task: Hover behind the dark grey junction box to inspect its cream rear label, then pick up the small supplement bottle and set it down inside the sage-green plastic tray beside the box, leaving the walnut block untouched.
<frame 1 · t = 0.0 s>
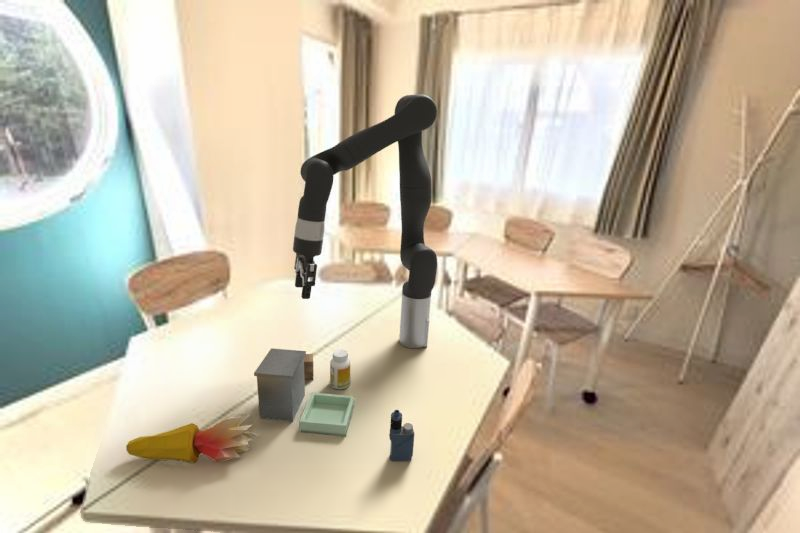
hand: (302, 292, 113), 22 cm above the table, tool pointing down, fingers open, 8 cm apart
vaping device: (400, 458, 88), on the table
supplement bottle: (340, 384, 112), on the table
tray: (328, 418, 99), on the table
walnut block: (306, 376, 114), on the table
junction box: (283, 406, 102), on the table
torch: (195, 454, 87), on the table
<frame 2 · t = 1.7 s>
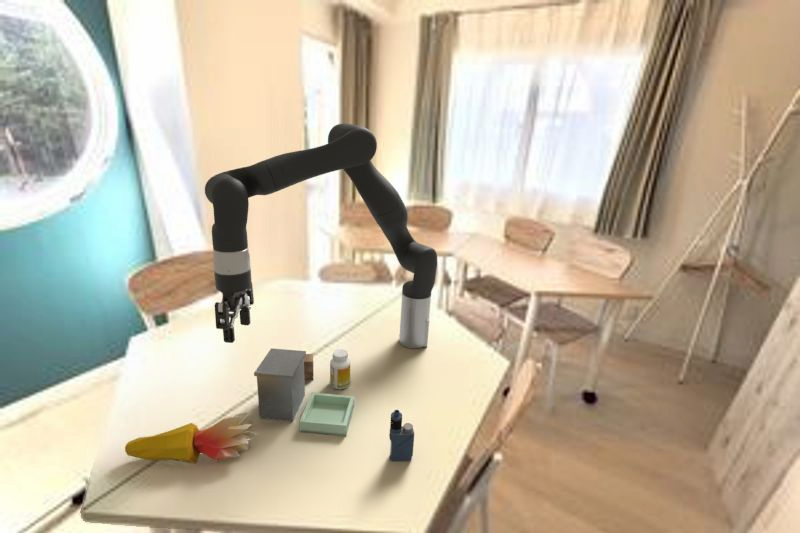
hand: (237, 332, 96), 20 cm above the table, tool pointing down, fingers open, 8 cm apart
nothing on the table moved.
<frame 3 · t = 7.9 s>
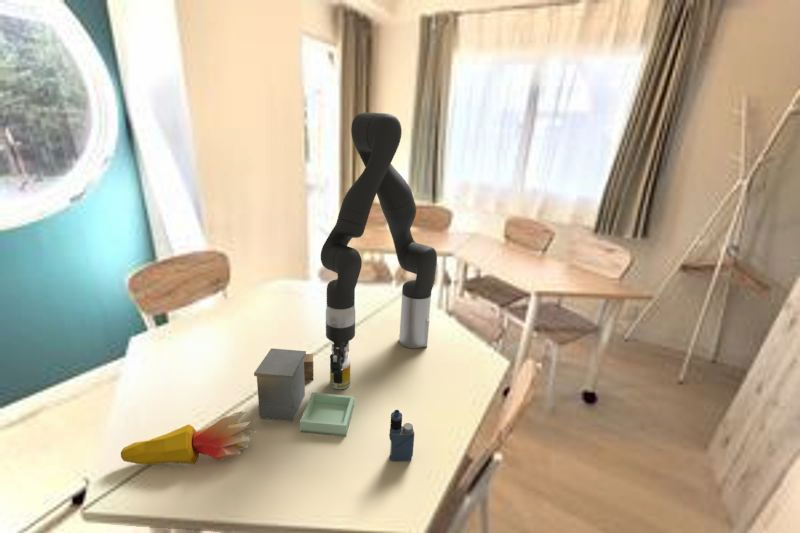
hand: (340, 375, 111), 3 cm above the table, tool pointing down, fingers closed on supplement bottle, 5 cm apart
supplement bottle: (340, 384, 112), on the table, touching gripper
when the fingers open (5 cm above the table, at t = 13.2 s): supplement bottle drops 2 cm, resting on tray.
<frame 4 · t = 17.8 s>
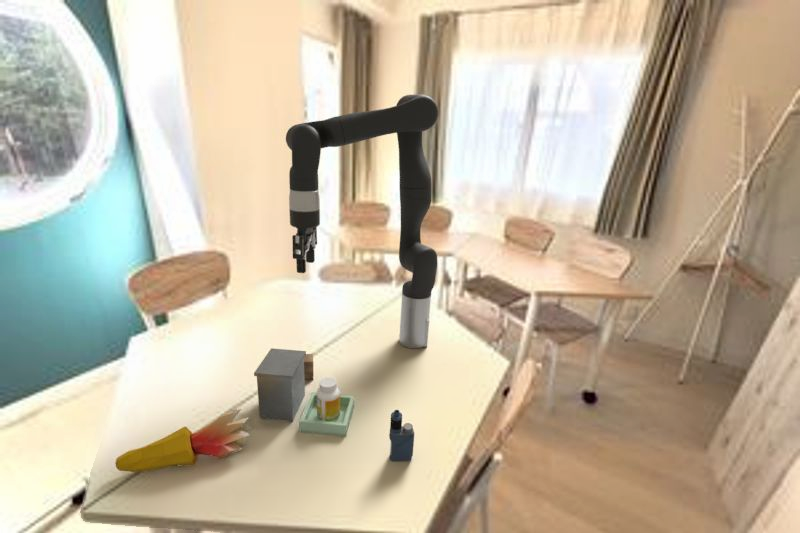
hand: (306, 267, 110), 30 cm above the table, tool pointing down, fingers open, 8 cm apart
supplement bottle: (328, 416, 98), resting on tray
at the end: supplement bottle inside the target area on the tray (0.1 cm from its centre), point 0.4 cm above the tray's base; supplement bottle tilted 1°; the gripper is holding nothing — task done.
